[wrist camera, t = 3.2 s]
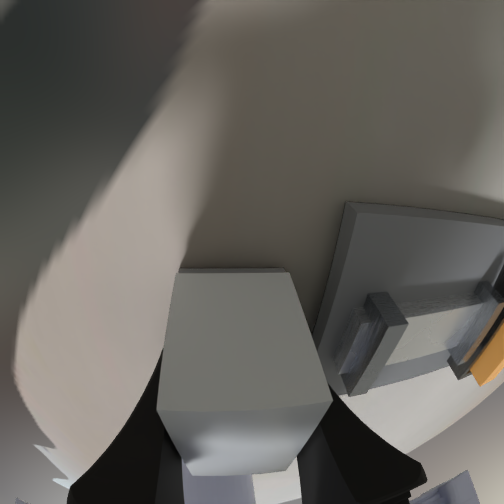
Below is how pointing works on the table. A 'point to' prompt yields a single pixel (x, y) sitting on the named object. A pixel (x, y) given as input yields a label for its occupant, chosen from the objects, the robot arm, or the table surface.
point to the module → (239, 372)
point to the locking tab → (490, 360)
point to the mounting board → (403, 271)
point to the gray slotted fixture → (418, 332)
